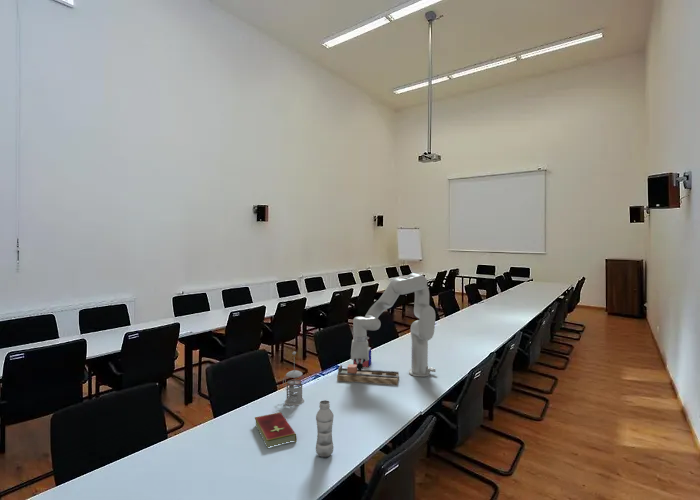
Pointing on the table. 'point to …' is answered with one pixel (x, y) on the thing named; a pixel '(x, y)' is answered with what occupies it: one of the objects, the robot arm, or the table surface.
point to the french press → (297, 397)
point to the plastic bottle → (324, 430)
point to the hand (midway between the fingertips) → (359, 369)
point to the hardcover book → (275, 429)
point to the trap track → (368, 376)
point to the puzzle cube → (366, 363)
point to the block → (352, 368)
